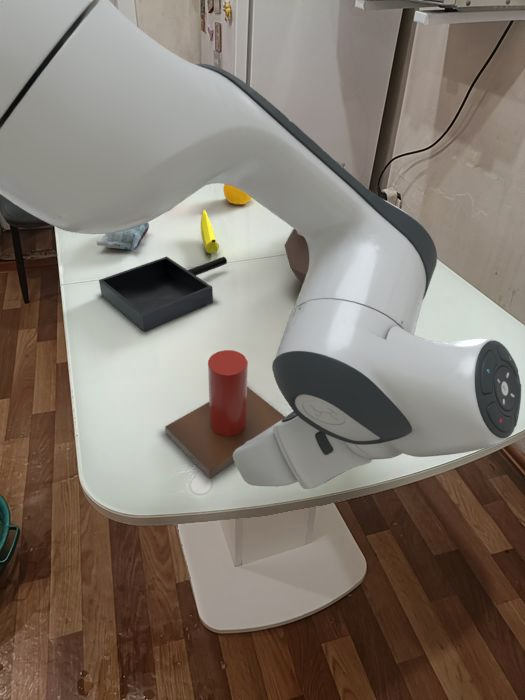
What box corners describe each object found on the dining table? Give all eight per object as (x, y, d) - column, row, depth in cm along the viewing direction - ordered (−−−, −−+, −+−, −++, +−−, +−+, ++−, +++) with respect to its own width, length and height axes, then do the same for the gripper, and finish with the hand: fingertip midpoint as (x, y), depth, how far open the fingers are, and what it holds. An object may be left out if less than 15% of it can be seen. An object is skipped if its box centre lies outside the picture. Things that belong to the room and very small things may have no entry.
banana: (210, 228, 123) (210, 203, 119) (221, 267, 108) (221, 239, 105) (198, 229, 123) (197, 204, 119) (207, 268, 108) (206, 240, 104)
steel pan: (144, 332, 89) (141, 315, 87) (101, 295, 98) (98, 279, 96) (248, 287, 103) (248, 271, 100) (202, 258, 111) (202, 243, 109)
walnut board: (209, 478, 65) (209, 471, 64) (165, 433, 71) (165, 426, 70) (287, 426, 73) (288, 419, 72) (242, 390, 79) (242, 382, 78)
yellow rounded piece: (219, 205, 134) (218, 177, 130) (229, 194, 140) (229, 167, 136) (248, 209, 133) (248, 181, 128) (257, 199, 139) (258, 171, 134)
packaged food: (98, 254, 111) (94, 233, 108) (115, 230, 120) (112, 210, 117) (137, 257, 110) (135, 236, 107) (151, 233, 120) (150, 213, 117)
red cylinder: (225, 442, 68) (224, 380, 61) (202, 421, 71) (200, 360, 64) (253, 424, 71) (255, 363, 64) (230, 405, 74) (230, 344, 67)
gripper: (406, 342, 55) (328, 367, 66) (266, 435, 44) (201, 445, 55) (432, 395, 55) (350, 410, 67) (299, 500, 44) (228, 496, 55)
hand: (281, 426), depth 61 cm, fingers open, 8 cm apart
